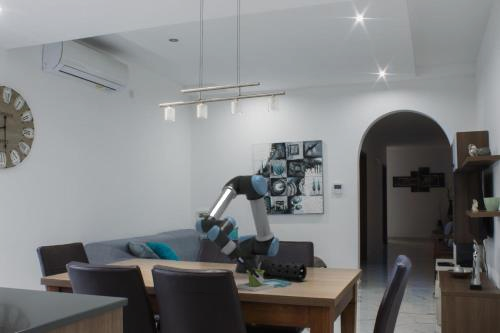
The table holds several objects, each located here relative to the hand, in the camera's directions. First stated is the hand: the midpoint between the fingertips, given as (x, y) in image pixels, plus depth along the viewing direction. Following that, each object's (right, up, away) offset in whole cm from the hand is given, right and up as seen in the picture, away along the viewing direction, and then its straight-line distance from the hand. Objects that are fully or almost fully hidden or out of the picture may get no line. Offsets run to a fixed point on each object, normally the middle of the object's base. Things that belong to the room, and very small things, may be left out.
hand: (261, 279), depth 266 cm
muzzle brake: (+12, -6, +25) cm, 28 cm away
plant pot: (-3, -4, -1) cm, 5 cm away
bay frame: (+2, -4, +3) cm, 6 cm away
